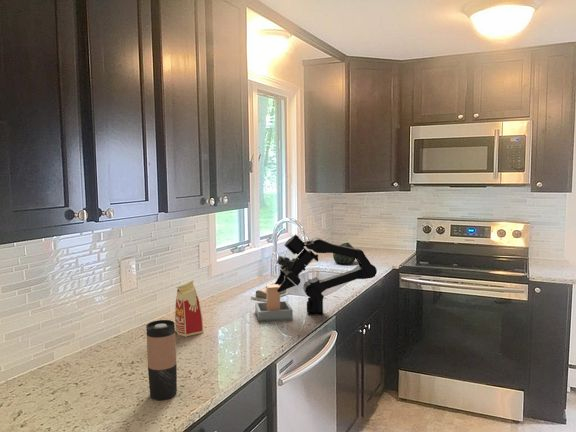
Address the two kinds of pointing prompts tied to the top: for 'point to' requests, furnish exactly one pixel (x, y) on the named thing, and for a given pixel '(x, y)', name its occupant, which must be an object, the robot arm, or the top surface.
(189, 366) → the top surface
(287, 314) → the tray
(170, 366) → the travel mug
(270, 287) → the peach block
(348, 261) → the squash
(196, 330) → the red food bag
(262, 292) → the packaged product
